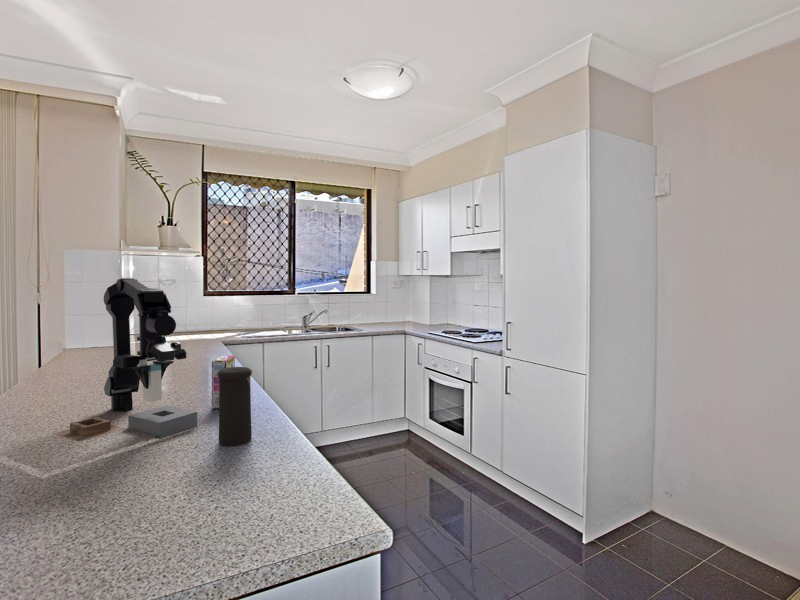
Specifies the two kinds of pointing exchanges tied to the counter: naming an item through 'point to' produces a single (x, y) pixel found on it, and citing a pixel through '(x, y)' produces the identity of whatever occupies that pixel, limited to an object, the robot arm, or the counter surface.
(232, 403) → the container
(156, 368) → the plug
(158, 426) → the socket block
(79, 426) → the holster
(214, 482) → the counter surface
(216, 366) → the candy bar box
